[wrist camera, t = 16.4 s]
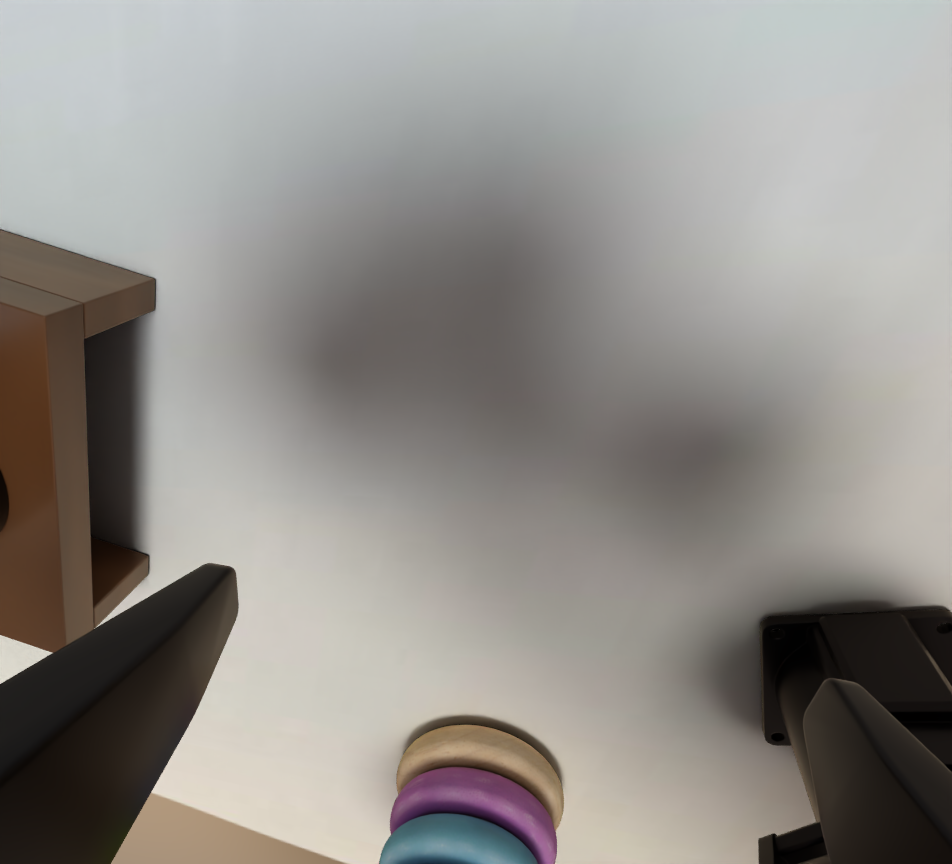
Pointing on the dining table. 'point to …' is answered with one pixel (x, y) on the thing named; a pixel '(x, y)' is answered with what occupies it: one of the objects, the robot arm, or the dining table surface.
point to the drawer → (55, 442)
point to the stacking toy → (474, 801)
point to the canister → (3, 502)
